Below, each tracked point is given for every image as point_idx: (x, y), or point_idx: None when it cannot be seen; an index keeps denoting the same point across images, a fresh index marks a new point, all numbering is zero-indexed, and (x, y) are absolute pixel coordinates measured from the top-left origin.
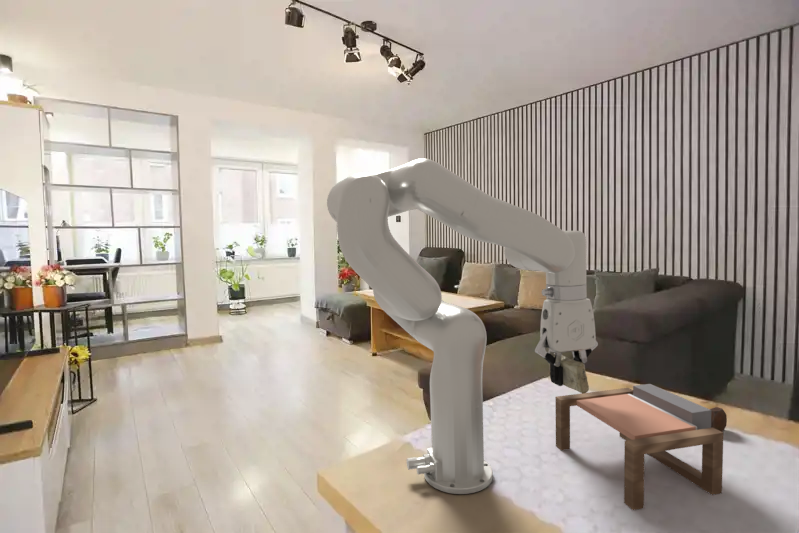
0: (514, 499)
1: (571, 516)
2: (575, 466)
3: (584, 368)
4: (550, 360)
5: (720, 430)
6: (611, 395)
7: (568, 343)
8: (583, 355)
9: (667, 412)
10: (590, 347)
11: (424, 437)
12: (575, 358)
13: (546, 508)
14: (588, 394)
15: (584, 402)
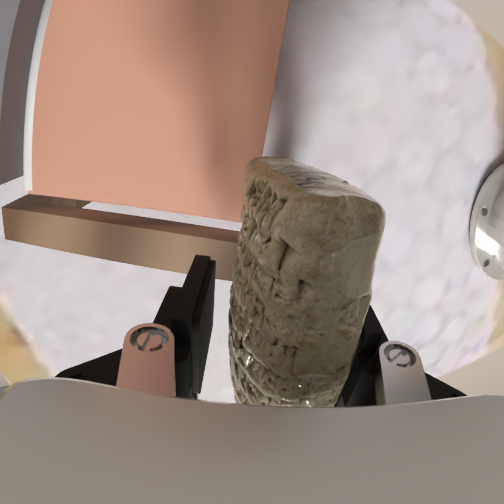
0: (491, 108)
1: (442, 17)
2: (314, 122)
3: (297, 193)
4: (439, 385)
5: None
6: (77, 215)
7: (441, 480)
8: (147, 368)
9: (45, 9)
10: (74, 381)
11: (464, 349)
12: (186, 389)
13: (464, 56)
14: (156, 251)
15: (235, 191)
